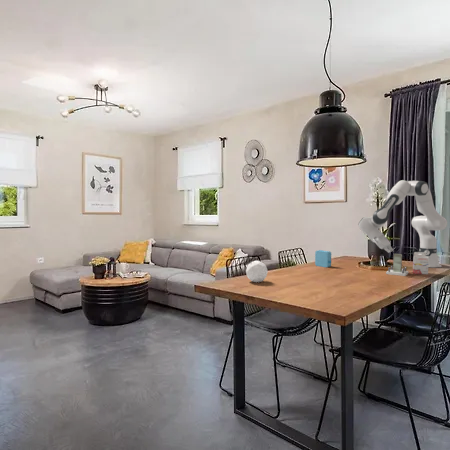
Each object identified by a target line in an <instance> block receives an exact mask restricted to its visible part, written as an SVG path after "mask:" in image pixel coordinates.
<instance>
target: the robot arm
mask: <svg viewBox="0 0 450 450" xmlns="http://www.w3.org/2000/svg"><path fill="white" fill-rule="evenodd" d="M407 196H410V197H413V196H414V197H415V201H416V202H415V203H416V207H417V208H416V209H417V211H418V212H419V213H420V214H422V215H417V216H413V217H412V218H411V221H410V222H411V226H412V228H413V229H415V231H416V233H418V236H419V249H418V252H426V257H429V266H428V268H442V267H443V266H442V265H441V264H440V258H439V257H440V256H439V255H438V254H437V253H438V249H437V237H436V236H434V235H433V234H432V233H431V231H443V230H445V229H446V228H447V226H448V220H447V219H446V217H444V216H443V215H441V214H440V213H439V212H438V211H437V209H436V207H435V205H434V204H435V203H434V200H433V195H432V193H431V189H430V188H429V184H428V182H426V181H422V180H404V179H402V180H399V181H397V182H396V183H395V184H394V186H392V188H391V189H390V191H389V193H388V194H387V196H386V201H385V202H384V204H383V205H381V207H380V208H378V209H376V210H375V211H374V212H373V214H372V216H365V217H362V218H361V220H360V221H359V222H358V224H357V225H358V228H359V229H360V230H361V231H362V233H364V234H365V235H366V236H367V238H368V239H369V240H370V241H371V242H372V243H375V244H376V246H377V247H378V248H379V249H381V250H384V251H386V252H387V253H388V254H390V253H391V252H393V251H394V248H393V247H392V246H391V242H390V240H389V239H388V238H387V237H386V236H385V233H383V232H382V231H381V230H379V229H381V228H383V227H384V226H385V224H386V223H387V221H388V220H389V216H390V213H391V211H392V210H393V209H394V207H395V206H398V205H400V204H401V203H402V202H403V201H404V200H405V199H406V197H407ZM418 255H422V254H420V253H419V254H418Z"/></svg>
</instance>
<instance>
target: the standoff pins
mask: <svg viewBox="0 0 450 450" xmlns="http://www.w3.org/2000/svg"><path fill="white" fill-rule="evenodd" d="M390 269H391V270H393V265H390V267H389V266H388V270H387V271H388V272H390ZM404 271H407V266H404V268H402V273H404Z"/></svg>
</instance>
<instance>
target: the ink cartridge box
mask: <svg viewBox="0 0 450 450" xmlns="http://www.w3.org/2000/svg"><path fill="white" fill-rule="evenodd" d="M419 253H420V254H422V255H418V254H419ZM428 266H429V257H426V252H419V251H414V252H413V261H412V273H413V274H415V275H429V267H428Z"/></svg>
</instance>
